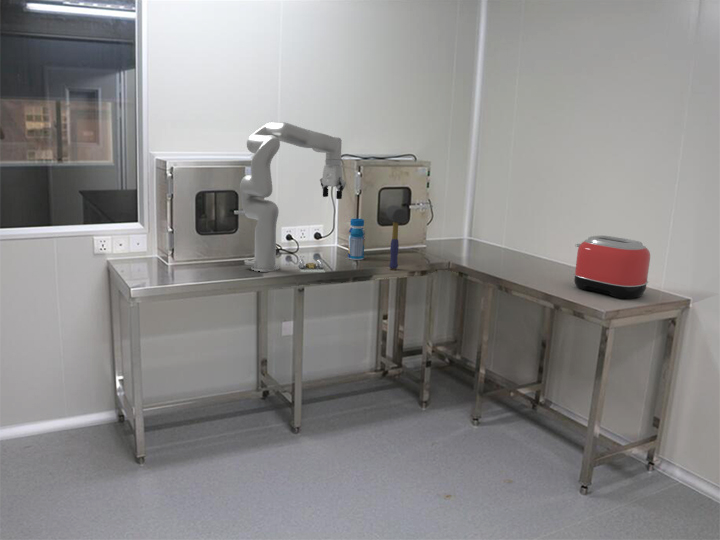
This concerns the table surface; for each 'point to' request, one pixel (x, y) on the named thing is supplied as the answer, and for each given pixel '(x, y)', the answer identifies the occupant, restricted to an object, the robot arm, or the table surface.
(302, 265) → the spacer rows
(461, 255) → the table surface
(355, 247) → the beverage bottle
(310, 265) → the brass nut
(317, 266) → the spacer board
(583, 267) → the toaster
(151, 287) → the table surface
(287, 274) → the table surface
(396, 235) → the rubber mallet
